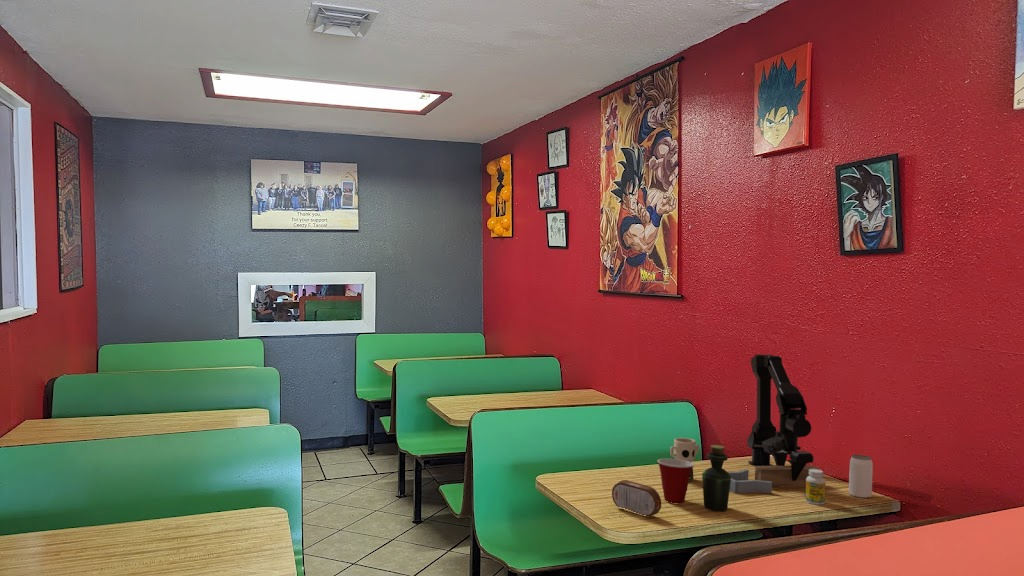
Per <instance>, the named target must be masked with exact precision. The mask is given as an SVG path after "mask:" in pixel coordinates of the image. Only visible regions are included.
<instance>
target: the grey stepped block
mask: <svg viewBox="0 0 1024 576" xmlns="http://www.w3.org/2000/svg"><path fill="white" fill-rule="evenodd" d="M727 472H728V473H729V474H730V476H731V483H730V491H729V492H732V494H742V493H743V494H744V493H745V494H746V493H759V492H760V493H759V494H761V493H762V494H768V493H771V494H772V491H773V487H772V482H770V481H761V480H755V479H749V469H747V468H745V469H741V470H738V471H727Z"/></svg>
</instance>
